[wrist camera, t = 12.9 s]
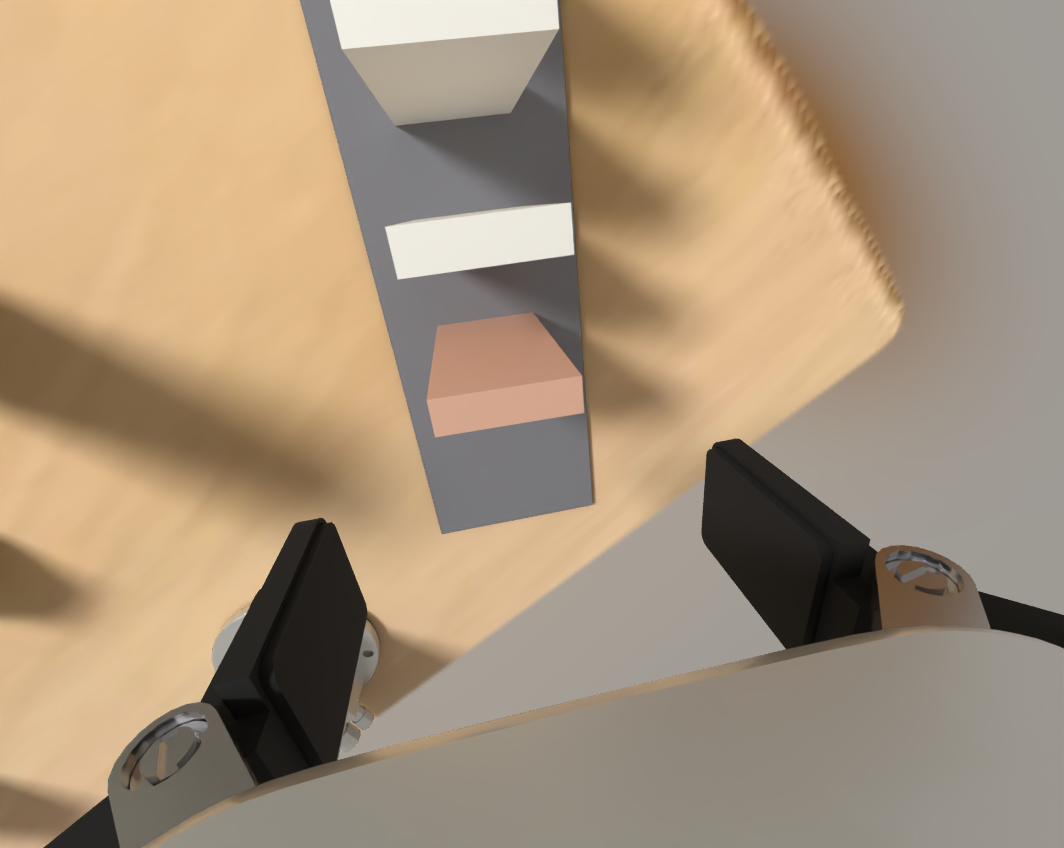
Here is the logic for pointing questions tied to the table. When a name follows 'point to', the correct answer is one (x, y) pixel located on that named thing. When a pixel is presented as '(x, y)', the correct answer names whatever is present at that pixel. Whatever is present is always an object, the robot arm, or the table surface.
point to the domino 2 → (481, 239)
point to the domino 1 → (445, 53)
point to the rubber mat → (467, 271)
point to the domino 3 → (499, 375)
